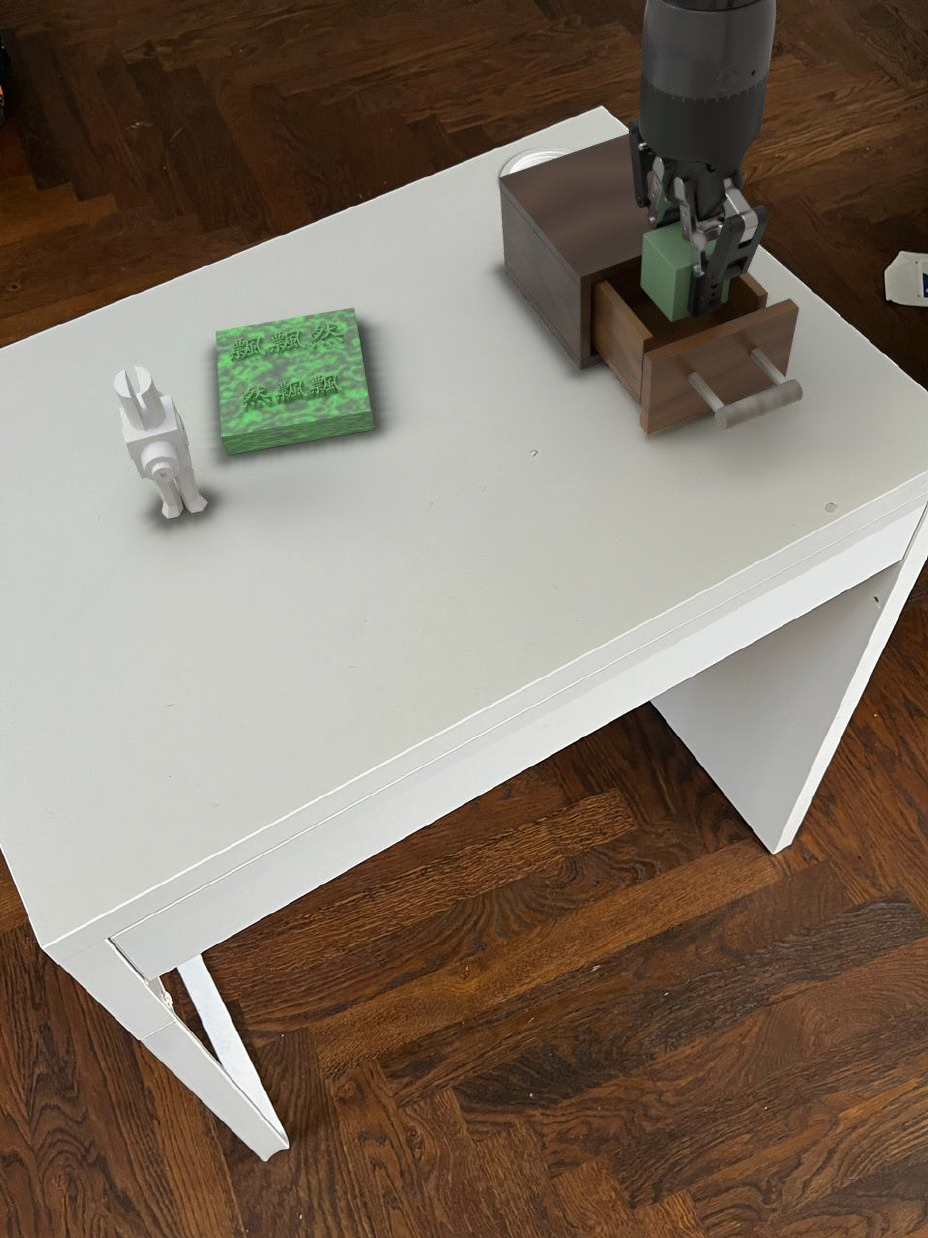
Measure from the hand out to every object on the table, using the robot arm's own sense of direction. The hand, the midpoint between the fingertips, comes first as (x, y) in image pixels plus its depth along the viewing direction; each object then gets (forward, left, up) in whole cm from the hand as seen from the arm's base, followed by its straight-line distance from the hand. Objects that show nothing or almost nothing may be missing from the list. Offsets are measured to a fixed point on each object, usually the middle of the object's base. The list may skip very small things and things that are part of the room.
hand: (684, 289), depth 82 cm
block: (0, 0, 0) cm, 0 cm away
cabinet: (+8, -7, -8) cm, 13 cm away
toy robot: (+31, +23, -8) cm, 39 cm away
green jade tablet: (+28, +10, -8) cm, 31 cm away
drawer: (-1, +1, -7) cm, 7 cm away
